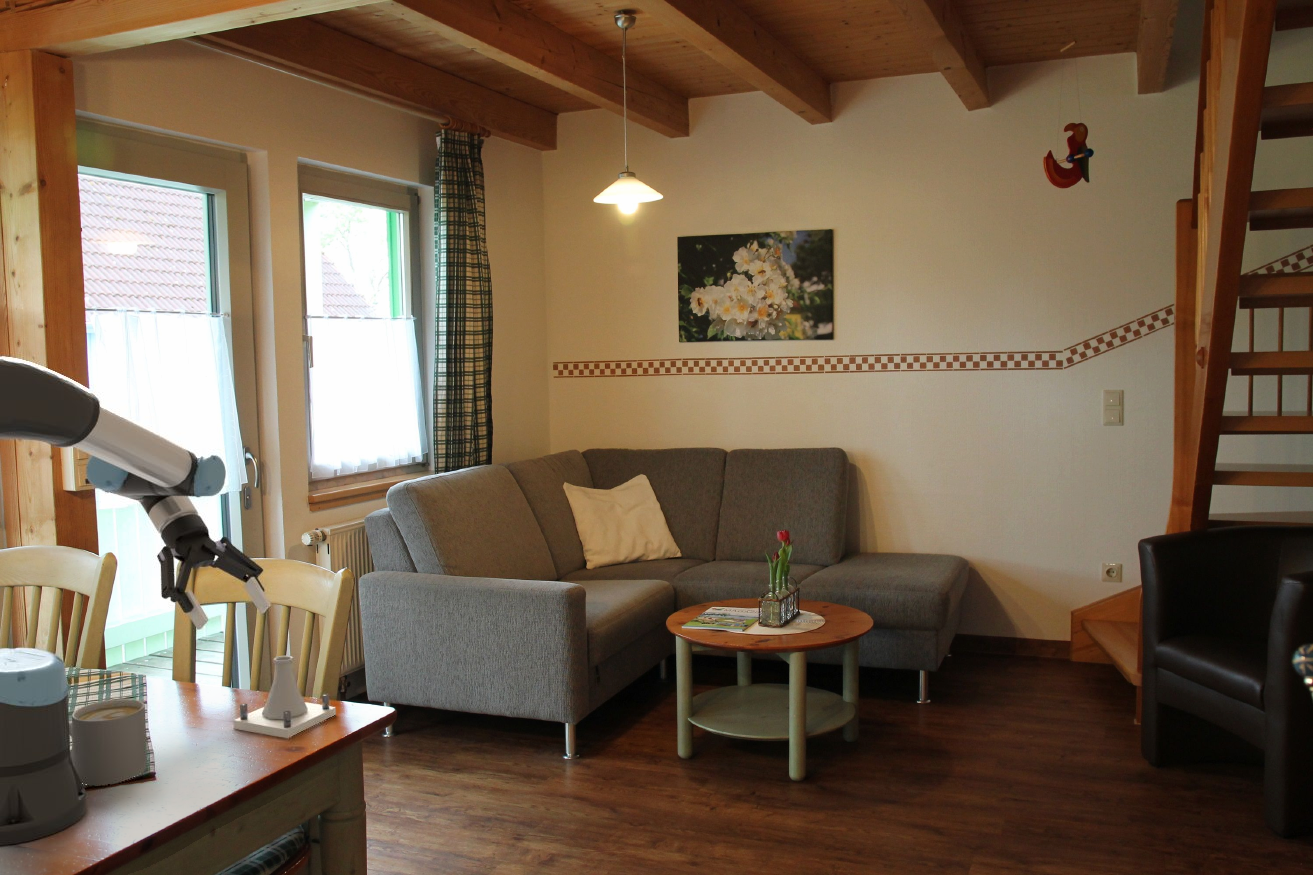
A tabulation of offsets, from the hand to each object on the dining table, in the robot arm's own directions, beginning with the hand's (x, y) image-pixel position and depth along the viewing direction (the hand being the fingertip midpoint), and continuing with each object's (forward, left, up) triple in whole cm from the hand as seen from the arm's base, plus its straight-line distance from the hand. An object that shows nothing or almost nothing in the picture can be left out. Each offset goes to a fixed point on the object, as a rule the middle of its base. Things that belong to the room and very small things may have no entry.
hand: (235, 616), depth 182 cm
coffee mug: (-28, 0, -18) cm, 33 cm away
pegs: (0, -11, -16) cm, 20 cm away
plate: (0, -11, -18) cm, 21 cm away
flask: (0, -11, -16) cm, 20 cm away
